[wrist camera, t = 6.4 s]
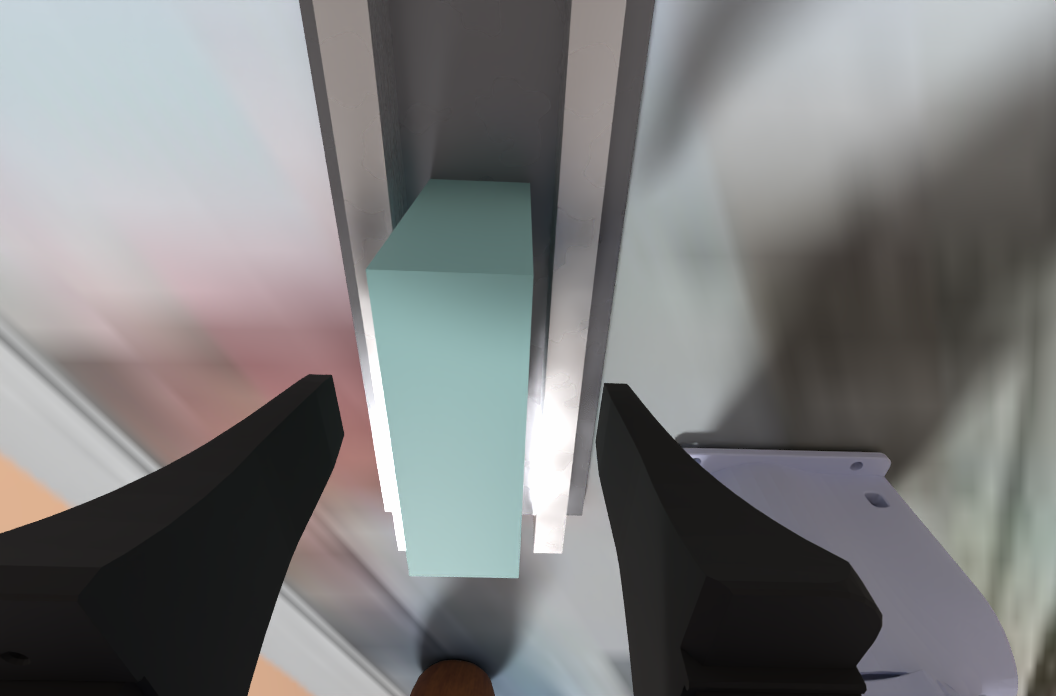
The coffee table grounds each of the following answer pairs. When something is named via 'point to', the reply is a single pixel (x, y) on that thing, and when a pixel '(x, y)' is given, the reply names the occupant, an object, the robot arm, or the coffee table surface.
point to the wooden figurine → (453, 680)
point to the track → (492, 155)
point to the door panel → (457, 372)
